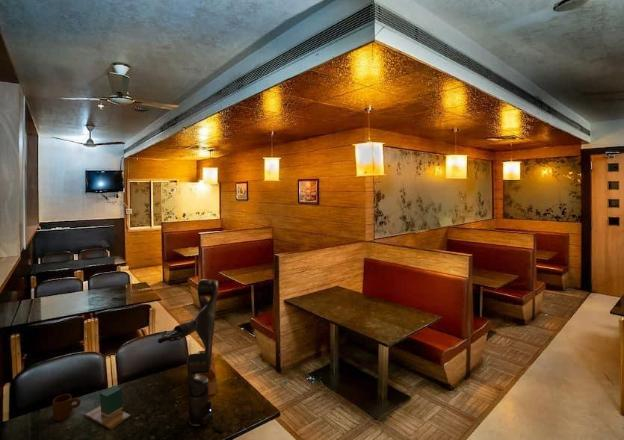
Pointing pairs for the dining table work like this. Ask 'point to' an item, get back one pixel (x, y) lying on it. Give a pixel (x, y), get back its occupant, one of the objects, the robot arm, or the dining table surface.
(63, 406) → the mug
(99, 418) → the cork mat
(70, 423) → the dining table surface
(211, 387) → the bread
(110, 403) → the carton
